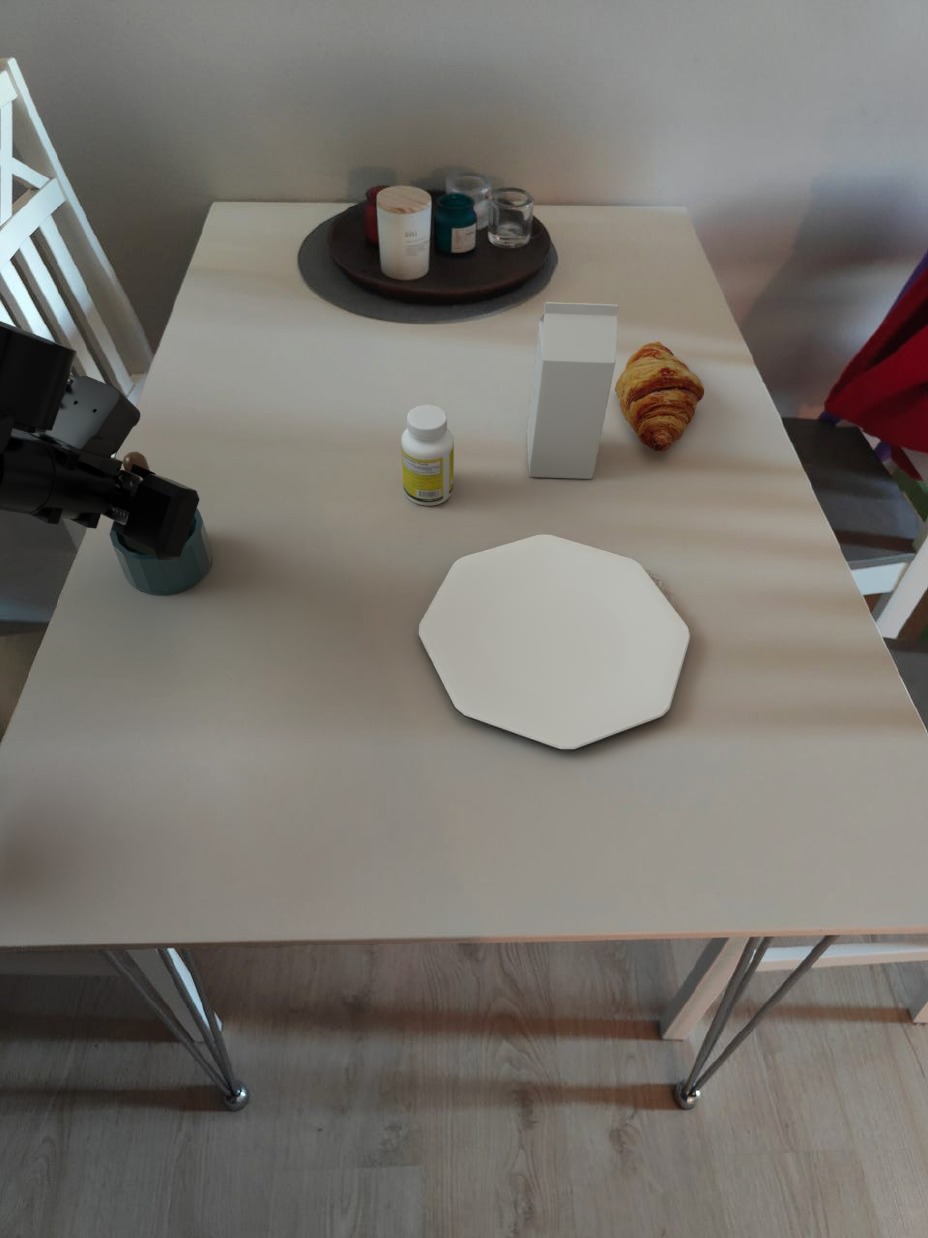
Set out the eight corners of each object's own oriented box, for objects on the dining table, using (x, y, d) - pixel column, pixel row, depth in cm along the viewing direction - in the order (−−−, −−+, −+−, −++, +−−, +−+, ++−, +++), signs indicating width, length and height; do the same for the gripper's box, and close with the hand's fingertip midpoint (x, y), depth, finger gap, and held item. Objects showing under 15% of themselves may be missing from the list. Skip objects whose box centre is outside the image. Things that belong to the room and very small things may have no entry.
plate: (390, 587, 83) (390, 576, 82) (601, 525, 90) (604, 514, 88) (490, 787, 70) (491, 778, 68) (730, 697, 76) (735, 688, 75)
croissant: (624, 378, 112) (604, 327, 107) (700, 352, 108) (684, 298, 103) (629, 483, 98) (607, 430, 93) (717, 457, 95) (698, 400, 89)
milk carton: (592, 480, 94) (623, 325, 80) (528, 478, 94) (547, 322, 79) (587, 439, 99) (615, 285, 84) (526, 437, 99) (543, 283, 84)
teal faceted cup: (117, 596, 81) (101, 560, 77) (133, 534, 87) (119, 497, 83) (206, 594, 82) (195, 558, 78) (217, 532, 87) (207, 495, 83)
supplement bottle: (429, 467, 95) (429, 393, 87) (463, 491, 92) (466, 417, 85) (392, 489, 92) (389, 415, 85) (426, 514, 90) (426, 441, 82)
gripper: (153, 413, 61) (270, 449, 75) (-33, 336, 66) (110, 384, 81) (106, 558, 62) (229, 566, 77) (-72, 472, 67) (75, 495, 82)
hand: (159, 498), depth 79 cm, fingers closed
